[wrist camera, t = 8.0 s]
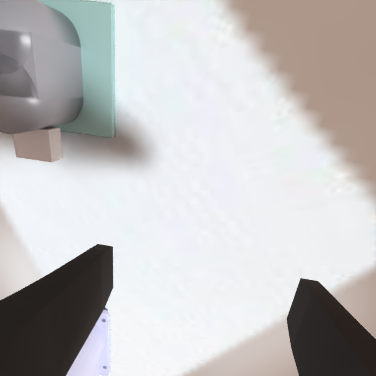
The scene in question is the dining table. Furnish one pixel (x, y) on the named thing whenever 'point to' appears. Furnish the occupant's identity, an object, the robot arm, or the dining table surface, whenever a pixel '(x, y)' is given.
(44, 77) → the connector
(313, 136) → the dining table surface
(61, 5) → the mat
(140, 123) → the dining table surface
